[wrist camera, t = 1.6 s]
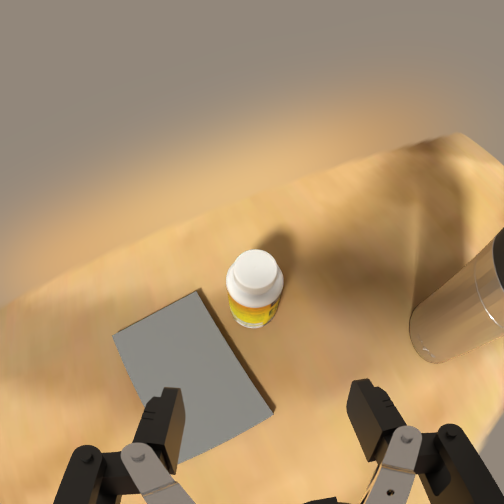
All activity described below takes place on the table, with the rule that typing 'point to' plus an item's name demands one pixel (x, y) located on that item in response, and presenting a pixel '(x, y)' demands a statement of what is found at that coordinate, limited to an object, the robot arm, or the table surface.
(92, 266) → the table surface
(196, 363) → the mat
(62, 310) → the table surface
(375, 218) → the table surface
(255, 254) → the supplement bottle
